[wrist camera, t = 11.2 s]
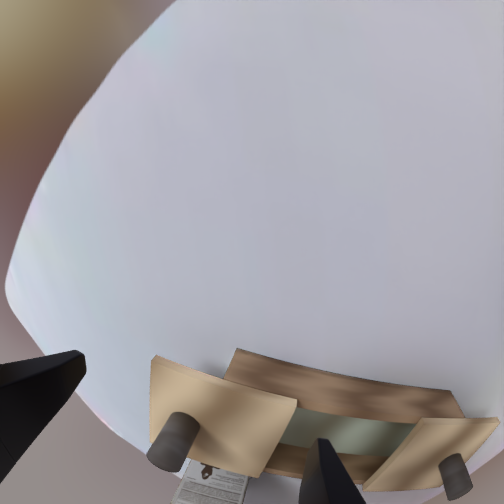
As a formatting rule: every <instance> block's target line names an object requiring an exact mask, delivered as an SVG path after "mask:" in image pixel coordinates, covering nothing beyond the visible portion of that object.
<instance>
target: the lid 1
mask: <svg viewBox="0 0 504 504" xmlns="http://www.w3.org/2000/svg"><path fill="white" fill-rule="evenodd" d="M296 406H297V399H293V398H289V397H285V396H280V395H276V394H273V393H269V392H265V391H261V390H258V389H254V388H250V387H247V386H243V385H240V384H237V383H233V382H230V381H227V380H224V379H221V378H218V377H215V376H212V375H209V374H206V373H203V372H200V371H197V370H194V369H192V368H189V367H186V366H183V365H181V364H178V363H175V362H173V361H170V360H168V359H165V358H163V357H160V356H158V355H156V356H155V357H154V358H153V359H152V360H151V374H150V443H153V444H152V446H151V447H150V449H149V451H148V452H147V458H148V460H149V461H150V462H151V463H152V464H154V465H155V466H157V467H158V468H160V469H162V470H165V471H168V472H179V471H180V469H181V467H182V465H183V463H184V461H185V459H186V457H187V458H190V459H193V460H196V461H199V462H202V463H204V464H208V465H211V466H214V467H217V468H220V469H224V470H227V471H231V472H234V473H238V474H242V475H246V476H250V477H254V478H259V476H260V474H261V473H262V471H263V469H264V467H265V466H266V464H267V462H268V460H269V459H270V457H271V455H272V453H273V452H274V450H275V448H276V446H277V444H278V442H279V440H280V439H281V437H282V435H283V433H284V431H285V429H286V427H287V425H288V423H289V421H290V419H291V417H292V415H293V413H294V411H295V409H296Z"/></svg>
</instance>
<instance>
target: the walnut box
mask: <svg viewBox="0 0 504 504" xmlns="http://www.w3.org/2000/svg"><path fill="white" fill-rule="evenodd" d="M223 379H224V380H227V381H230V382H233V383H237V384H240V385H243V386H247V387H250V388H254V389H258V390H261V391H265V392H269V393H273V394H276V395H280V396H285V397H289V398H293V399H297V406H296V409H295V411H294V413H293V415H292V417H291V419H290V421H289V423H288V425H287V427H286V429H285V431H284V433H283V435H282V437H281V439H280V440H279V442H278V444H277V446H276V448H275V450H274V452H273V453H272V455H271V457H270V459H269V460H268V462H267V464H266V466H265V467H264V469H263V472H267V473H272V474H277V475H282V476H288V477H294V478H300V479H302V477H303V472H304V467H305V462H306V457H307V453H308V451H309V449H310V447H311V446H312V444H313V443H314V441H315V440H316V438H319V437H320V438H326V439H329V440H330V442H331V444H332V446H333V447H334V449H335V451H336V453H337V454H338V456H339V458H340V460H341V461H342V463H343V465H344V467H345V468H346V470H347V472H348V473H349V475H350V477H351V479H352V480H353V482H354V484H364V483H365V482H366V481H367V480H368V479H369V478H370V477H371V476H372V475H373V474H374V473H375V472H376V471H377V470H378V469H379V468H380V467H381V466H382V465H383V464H384V463H385V462H386V460H387V459H388V458H389V457H390V456H391V455H392V454H393V453H394V451H395V450H396V449H397V448H398V447H399V446H400V444H401V443H402V442H403V441H404V440H405V438H406V437H407V436H408V435H409V433H410V432H411V431H412V430H413V428H414V427H415V426H416V424H417V423H418V422H419V420H420V419H421V418H422V417H424V418H465V416H464V415H463V413H462V411H461V409H460V407H459V405H458V404H457V402H456V400H455V398H454V396H453V395H452V393H451V391H450V390H439V389H430V388H421V387H413V386H406V385H398V384H392V383H385V382H379V381H373V380H367V379H362V378H357V377H351V376H346V375H341V374H336V373H332V372H327V371H322V370H318V369H314V368H309V367H305V366H301V365H297V364H293V363H289V362H285V361H281V360H277V359H274V358H270V357H266V356H263V355H259V354H256V353H252V352H249V351H245V350H242V349H239V348H237V349H236V351H235V354H234V356H233V358H232V360H231V363H230V365H229V367H228V369H227V371H226V374H225V376H224V378H223Z"/></svg>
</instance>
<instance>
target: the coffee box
mask: <svg viewBox="0 0 504 504" xmlns="http://www.w3.org/2000/svg"><path fill="white" fill-rule="evenodd" d="M249 477H250V476H246V475H242V474H238V473H234V472H231V471H227V470H224V469H220V468H217V467H214V466H211V465H208V464H204V463H202V462H199V461H196V460H193V459H191V461H190V463H189V465H188V467H187V470H186V472H185V474H184V476H183V478H182V480H181V482H180V484H179V487H178V489H177V491H176V493H175V495H174V497H173V499H172V501H171V503H170V504H243V501H244V497H245V493H246V489H247V485H248V481H249Z"/></svg>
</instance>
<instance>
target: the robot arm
mask: <svg viewBox="0 0 504 504" xmlns="http://www.w3.org/2000/svg"><path fill="white" fill-rule="evenodd" d="M85 374H86V361H85V356H84V354H83V353H81V352H79V351H78V350H72V351H67V352H62V353H58V354H53V355H48V356H43V357H39V358H33V359H27V360H22V361H17V362H11V363H5V364H3V365H2V364H0V483H1V482H2V481H3V479H4V478H5V477H6V476H7V474H8V473H9V472H10V470H11V469H12V468H13V467H14V465H15V464H16V462H17V461H18V460H19V459H20V457H21V456H22V455H23V454H24V452H25V451H26V450H27V449H28V447H29V446H30V445H31V444H32V442H33V441H34V440H35V439H36V438H37V436H38V435H39V434H40V433H41V432H42V430H43V429H44V428H45V427H46V425H47V424H48V423H49V422H50V421H51V420H52V418H53V417H54V416H55V415H56V414H57V412H58V411H59V410H60V409H61V408H62V407H63V405H64V404H65V403H66V402H67V400H68V399H69V398H70V396H71V395H72V393H73V392H74V390H75V389H76V387H77V386H78V384H79V383H80V382H81V380H82V379H83V377H84V376H85ZM299 504H366V502H365V501H364V499H363V497H362V496H361V494H360V492H359V490H358V489H357V487H356V485H355V484H354V482H353V480H352V479H351V477H350V475H349V473H348V472H347V470H346V468H345V467H344V465H343V463H342V461H341V460H340V458H339V456H338V454H337V453H336V451H335V449H334V447H333V446H332V444H331V442H330V440H329V439H326V438H320V437H319V438H316V440H315V441H314V443H313V444H312V446H311V447H310V449H309V451H308V453H307V457H306V462H305V467H304V472H303V477H302V482H301V487H300V493H299Z"/></svg>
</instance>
